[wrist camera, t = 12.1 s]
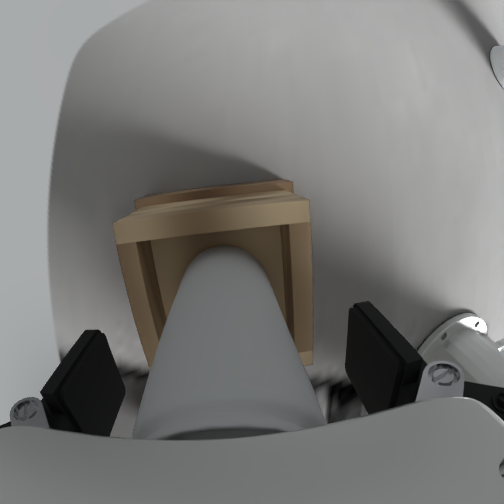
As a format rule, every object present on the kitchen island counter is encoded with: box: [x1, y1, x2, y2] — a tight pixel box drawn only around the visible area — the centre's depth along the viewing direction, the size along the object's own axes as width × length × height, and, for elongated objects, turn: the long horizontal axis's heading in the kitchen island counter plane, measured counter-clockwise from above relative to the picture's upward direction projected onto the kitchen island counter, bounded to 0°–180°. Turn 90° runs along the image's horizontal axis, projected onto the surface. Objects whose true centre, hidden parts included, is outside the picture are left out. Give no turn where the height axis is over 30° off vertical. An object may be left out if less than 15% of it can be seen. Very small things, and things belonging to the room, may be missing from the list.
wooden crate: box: [113, 179, 313, 370], centre depth 18 cm, size 10×10×8 cm
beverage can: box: [133, 246, 327, 440], centre depth 11 cm, size 5×5×12 cm
